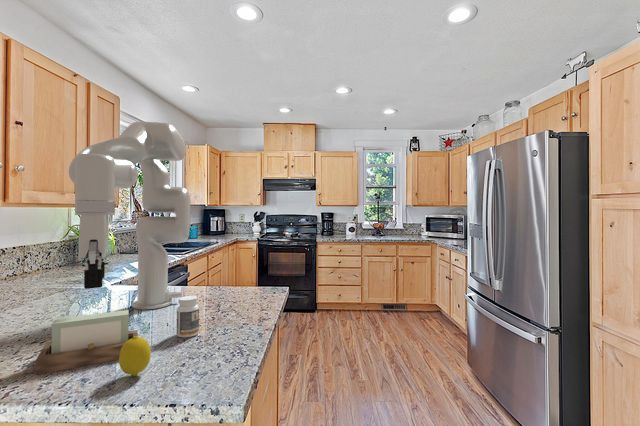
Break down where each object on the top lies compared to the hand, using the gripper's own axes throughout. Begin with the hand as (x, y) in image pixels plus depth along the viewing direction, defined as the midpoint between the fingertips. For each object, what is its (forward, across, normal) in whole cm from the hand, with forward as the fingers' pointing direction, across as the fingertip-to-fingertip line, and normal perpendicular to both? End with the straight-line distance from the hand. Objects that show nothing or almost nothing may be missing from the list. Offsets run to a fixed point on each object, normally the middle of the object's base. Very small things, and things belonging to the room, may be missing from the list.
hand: (95, 283), depth 75 cm
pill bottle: (+17, -3, +21) cm, 27 cm away
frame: (+16, +1, 0) cm, 16 cm away
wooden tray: (+16, +1, 0) cm, 17 cm away
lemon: (+16, +16, +8) cm, 24 cm away
